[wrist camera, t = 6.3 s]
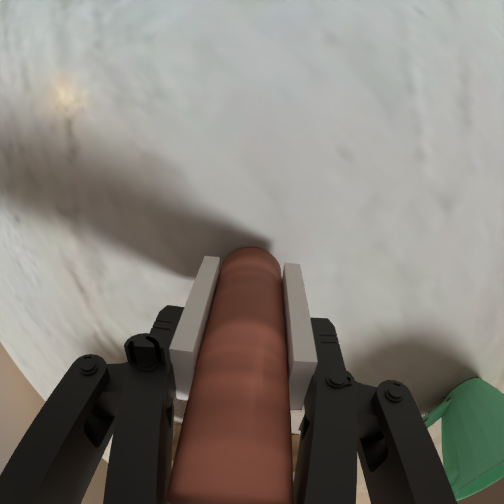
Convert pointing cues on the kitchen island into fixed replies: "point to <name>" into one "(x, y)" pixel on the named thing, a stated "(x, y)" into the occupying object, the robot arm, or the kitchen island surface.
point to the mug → (471, 436)
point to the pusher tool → (239, 394)
